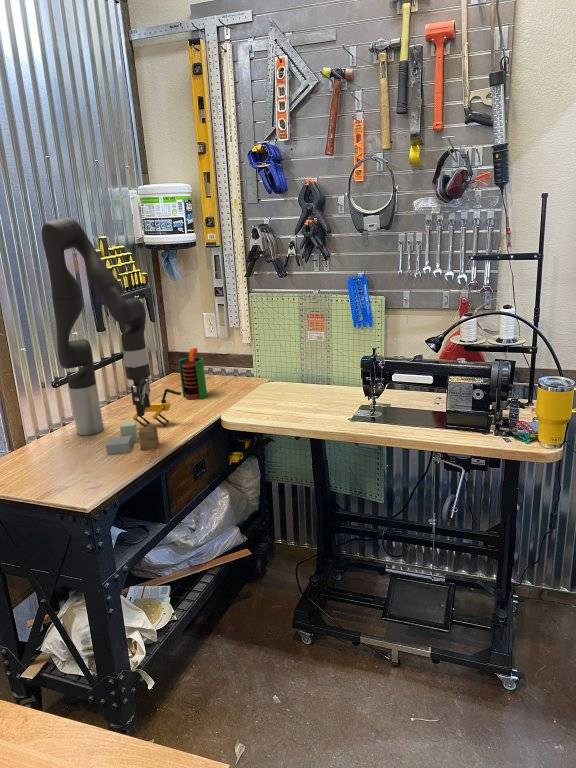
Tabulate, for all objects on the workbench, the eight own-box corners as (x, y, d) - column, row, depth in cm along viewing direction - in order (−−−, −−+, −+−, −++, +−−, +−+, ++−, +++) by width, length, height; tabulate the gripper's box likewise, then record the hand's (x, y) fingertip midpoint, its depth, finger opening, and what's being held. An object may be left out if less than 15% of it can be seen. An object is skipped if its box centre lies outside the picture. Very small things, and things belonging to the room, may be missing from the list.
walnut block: (143, 443, 197) (141, 426, 196) (158, 442, 197) (156, 425, 196) (140, 449, 193) (138, 432, 191) (156, 448, 193) (153, 431, 191)
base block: (111, 447, 197) (110, 437, 196) (133, 445, 197) (131, 435, 196) (107, 455, 190) (105, 445, 189) (129, 453, 191) (127, 443, 190)
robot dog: (183, 426, 211) (179, 390, 207) (133, 429, 212) (128, 393, 208) (186, 420, 216) (182, 385, 213) (138, 423, 217) (132, 388, 213)
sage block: (123, 438, 203) (120, 422, 202) (138, 436, 204) (135, 420, 203) (122, 443, 199) (119, 427, 197) (137, 441, 200) (135, 424, 198)
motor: (179, 399, 241) (173, 352, 236) (189, 393, 250) (183, 346, 244) (201, 400, 238) (196, 352, 232) (211, 393, 246) (206, 346, 241)
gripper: (130, 358, 193) (137, 405, 198) (119, 369, 180) (127, 419, 184) (153, 356, 193) (159, 403, 198) (143, 367, 180) (151, 417, 184)
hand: (144, 411), depth 191 cm, fingers open, 8 cm apart
